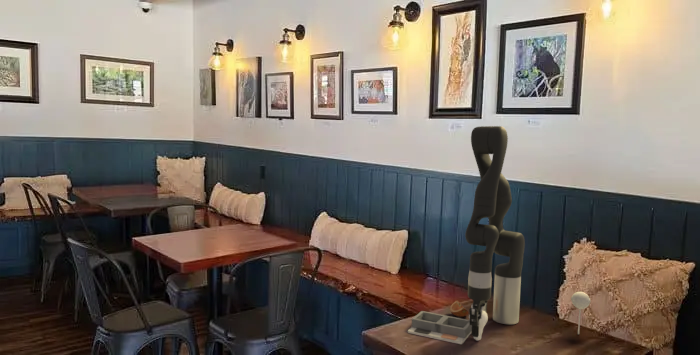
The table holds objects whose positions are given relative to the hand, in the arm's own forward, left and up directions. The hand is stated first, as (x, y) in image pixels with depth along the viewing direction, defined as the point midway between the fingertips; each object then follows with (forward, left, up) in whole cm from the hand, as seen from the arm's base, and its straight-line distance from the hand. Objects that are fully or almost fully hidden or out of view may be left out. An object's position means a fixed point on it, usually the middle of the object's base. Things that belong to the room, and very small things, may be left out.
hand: (477, 333), depth 181 cm
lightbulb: (0, 0, -3) cm, 3 cm away
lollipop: (-24, +29, -3) cm, 38 cm away
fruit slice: (-19, -12, -3) cm, 23 cm away
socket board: (-1, -13, -3) cm, 13 cm away
